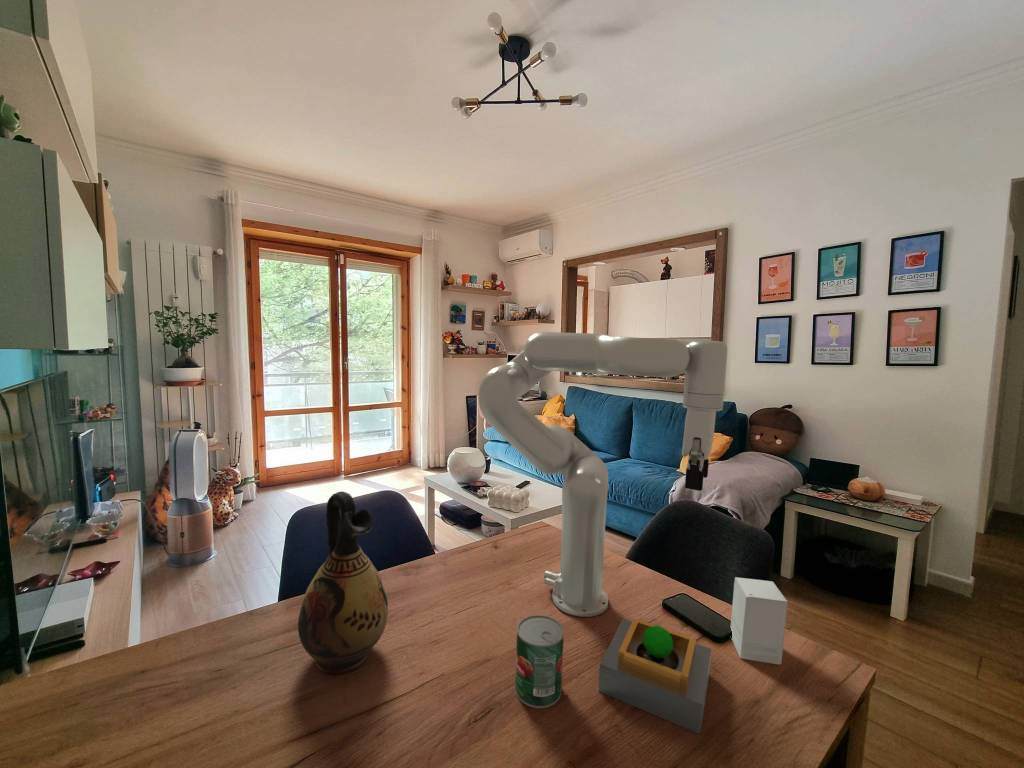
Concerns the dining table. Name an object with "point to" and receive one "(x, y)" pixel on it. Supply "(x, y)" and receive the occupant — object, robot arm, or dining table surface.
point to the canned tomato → (539, 661)
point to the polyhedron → (658, 641)
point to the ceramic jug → (343, 595)
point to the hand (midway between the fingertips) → (696, 482)
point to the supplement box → (758, 620)
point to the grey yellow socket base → (657, 675)
